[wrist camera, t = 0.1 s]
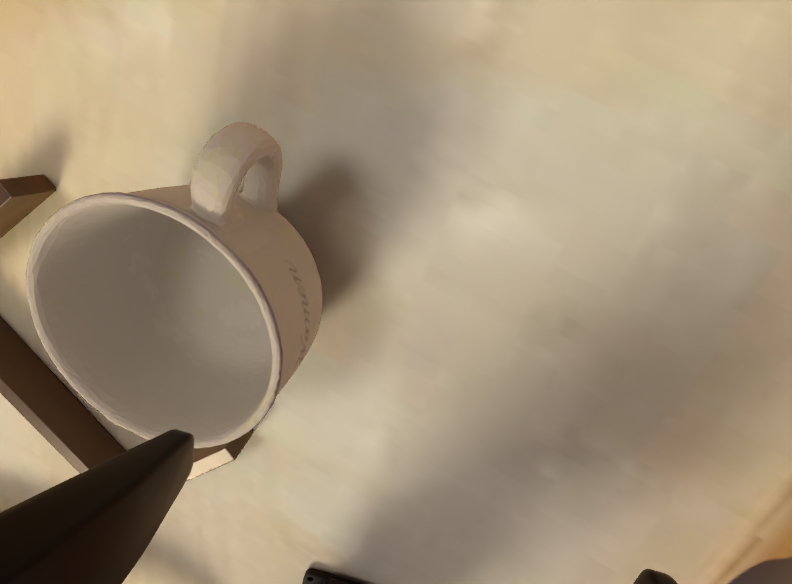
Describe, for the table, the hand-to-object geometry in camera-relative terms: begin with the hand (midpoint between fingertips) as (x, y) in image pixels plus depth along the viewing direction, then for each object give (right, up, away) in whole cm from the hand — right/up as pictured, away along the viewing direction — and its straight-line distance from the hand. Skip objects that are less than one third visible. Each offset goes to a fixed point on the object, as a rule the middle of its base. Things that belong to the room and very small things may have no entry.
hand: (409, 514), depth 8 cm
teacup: (-8, +7, +15) cm, 18 cm away
